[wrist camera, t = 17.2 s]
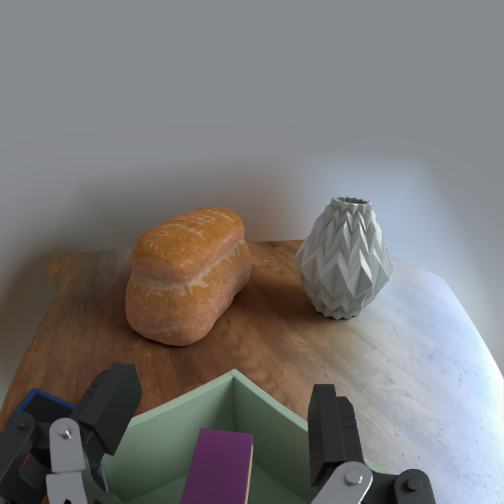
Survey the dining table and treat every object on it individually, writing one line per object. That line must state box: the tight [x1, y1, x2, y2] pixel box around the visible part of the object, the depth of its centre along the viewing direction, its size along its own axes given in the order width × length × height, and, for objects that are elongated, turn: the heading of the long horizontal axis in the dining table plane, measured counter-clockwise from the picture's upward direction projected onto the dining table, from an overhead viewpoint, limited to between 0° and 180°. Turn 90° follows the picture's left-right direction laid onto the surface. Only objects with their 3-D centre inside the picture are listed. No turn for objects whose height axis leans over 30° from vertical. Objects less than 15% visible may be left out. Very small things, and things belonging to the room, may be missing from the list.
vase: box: [294, 197, 393, 320], centre depth 44 cm, size 16×16×18 cm
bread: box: [125, 207, 252, 346], centre depth 46 cm, size 14×26×15 cm, turn 162°
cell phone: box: [7, 388, 76, 424], centre depth 20 cm, size 7×14×1 cm, turn 85°
